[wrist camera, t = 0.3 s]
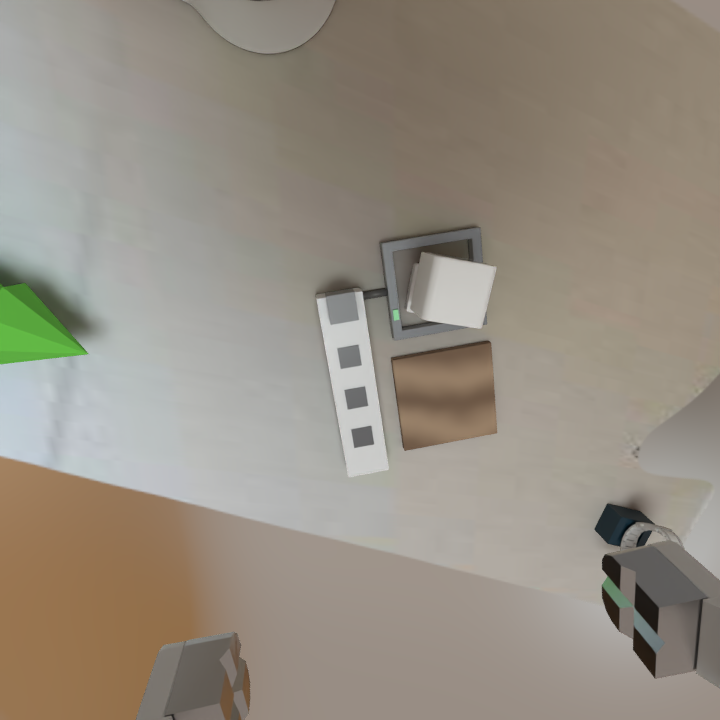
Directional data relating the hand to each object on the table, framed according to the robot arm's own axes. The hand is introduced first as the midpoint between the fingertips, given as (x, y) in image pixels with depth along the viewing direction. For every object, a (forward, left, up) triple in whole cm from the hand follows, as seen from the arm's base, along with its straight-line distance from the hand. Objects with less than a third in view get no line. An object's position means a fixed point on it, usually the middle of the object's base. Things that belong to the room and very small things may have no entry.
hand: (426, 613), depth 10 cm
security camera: (+1, +12, -46) cm, 48 cm away
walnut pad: (+15, +12, -46) cm, 50 cm away
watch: (+39, +35, -46) cm, 70 cm away
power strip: (+11, +3, -46) cm, 47 cm away
